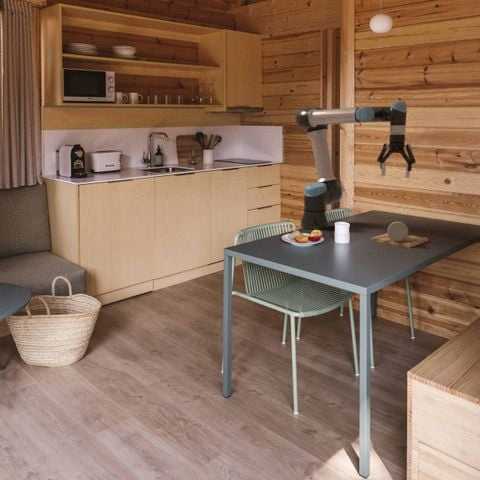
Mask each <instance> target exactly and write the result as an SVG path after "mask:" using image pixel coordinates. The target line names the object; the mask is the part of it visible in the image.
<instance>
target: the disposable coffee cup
mask: <svg viewBox="0 0 480 480" xmlns="http://www.w3.org/2000/svg"><path fill="white" fill-rule="evenodd" d="M386 233H387V234H388V236H389V238H390V239H391V240H393V241H395V242H400V241H403V240H404V239H405V238H406V237H407V235H409V228H408V226H407V225H406V224H405V223H404V222H402V221H393V222H392V223H390V224H389V225H388V227H387V231H386Z"/></svg>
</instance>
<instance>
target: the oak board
mask: <svg viewBox="0 0 480 480" xmlns="http://www.w3.org/2000/svg"><path fill="white" fill-rule="evenodd" d="M370 241H371V242H375V243H380V244H385V245H392V246H397V247H402V248H403V247H404V248H407V249H408V248H412V247H416V246H417V245H420V244H424V243H427V242H428V241H429V238H428V237H423V236H416V235H411V234H408V235H407V237H406V238H405V239H404V240H403V241H400V242H395V241H393V240H391V239H390V238H389V236H388V234H387V232H386V233H384V234H381V235H380V234H379V235H377V236H373V237H371V239H370Z"/></svg>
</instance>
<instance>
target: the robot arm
mask: <svg viewBox="0 0 480 480" xmlns="http://www.w3.org/2000/svg"><path fill="white" fill-rule="evenodd" d="M407 106H408V105H407V103H406V102H405V101H403V102H401V101H399V102H398V101H396V102H391V104H390V105H389V106H369V105H368V106H367V105H365V106H360V107H359V106H358V107H356V106H355V107H346V108H345V107H343V108H342V107H341V108H329V109H328V108H327V109H325V108H323V107H320V106H319V107H318V106H316V107H308V106H306V107H302V108H300V109H299V110H298V111H297V112H296V114H295V117H294V118H295V119H294V120H295V123H296V125H297V126H298V128H300V129H303V130H306V134H307V135H308V137H310V142H311V147H312V152H313V158H314V163H315V168H316V175H317V181H316V182H311V183H308V184H306V185H305V186H304V192H303V194H304V195H303V200H304V201H303V206H304V207H303V214H302V218H301V221H300V227H301V228H303V229H307V230H315V229H314V228H317V229H316V230H325V229H328V228H329V219H328V216H327V213H326V211H327V210H326V209H327V206H329V205H334V204H336V203H339V202H340V200H341V199H342V197H343V194H344V190H343V187H342V185H341V184H340V183H339V182H338V179H337V177H335V176H334V172H333V171H334V170H333V165H332V161H331V155H330V149H329V143H328V137H327V132H328V131H329V128H328V126H329V125H342V124H343V125H344V124H356V123H357V124H358V123H361V124H362V123H363V124H364V123H366V124H367V123H389V125H390V126H389V133H390V135H389V141H388V142H389V143H388V142H387V143H383V145H382V146H383V147H382V149H381V151H380V152H379V153H380V154H379V155H378V157H377V159H376V161H377V162H378V163H380V167H379V168H380V170H381V171H380V172H381V173H380V175H381V177H385V176H386V172H387V171H386V170H387V162H386V161H387V160H388V158H390V156H391V155H392V154H400V155H401V156H402V158H403V159H404V161H405V163H407V164H406V165H405V179H409V178H410V173H411V172H412V166H413V165H414V164H416V163H417V161H416V158H415V156H414V153H413V151H412V149H411V147H412V146H411V143H410V144H409V143H407V144H405V142H406V135H405V134H406V131H407V130H406V127H407V126H406V125H407V124H406V123H407V112H408V111H407V110H408V109H407ZM388 148H389V149H388ZM387 150H388V151H387ZM405 150H406V151H405Z"/></svg>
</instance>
